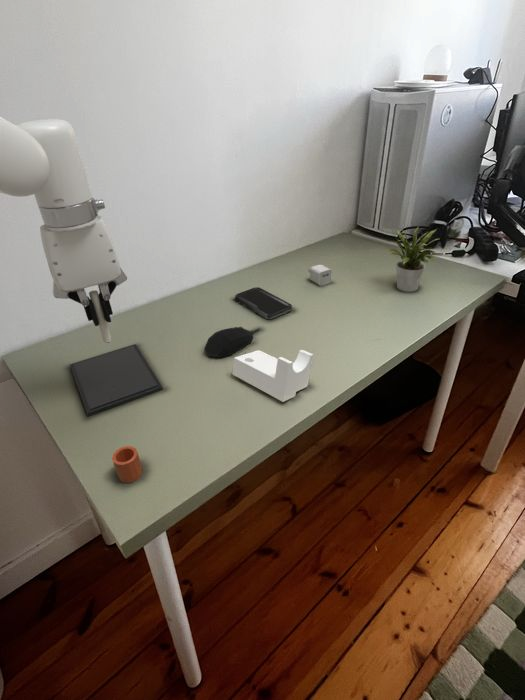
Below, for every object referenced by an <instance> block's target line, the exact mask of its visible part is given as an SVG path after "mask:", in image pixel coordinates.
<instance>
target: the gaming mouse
mask: <svg viewBox="0 0 525 700" xmlns="http://www.w3.org/2000/svg"><path fill="white" fill-rule="evenodd" d="M258 331H260V328H256V329H252V330H248V329H246V328H244V327H243V326H235V327H229V328H223V329H220V330H218V331H215V332H214V333H213V334H211V335H210V336H209V337H208V339H207V341H206V343H205V346H204V352H205V353H206V354H207V355H208V356H210V357H219V358H223V357H227V356H231V355H233V354H234V353H236V352H237V351H239V350H241V349H242V348H244V347H245V346H247V345H248V344H250V343H252V341H253V340H254V335H253V334H254V333H256V332H258Z"/></svg>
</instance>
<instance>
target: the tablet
mask: <svg viewBox="0 0 525 700" xmlns="http://www.w3.org/2000/svg"><path fill="white" fill-rule="evenodd" d="M69 366H70V370H71V372H72V374H73V378H74V381H75V383H76V387H77V389H78V392H79V394H80V398H81V400H82V401H81V402H82V403H83V406H84V409H85V413H86V415H87V417H91V416H94V415H96V414H99V413H102V412H105V411H108V410H110V409H113V408H115V407H118V406H121V405H123V404H127V403H129V402H133V401H135V400H138V399H140V398H143V397H146V396H149V395H153V394H154V393H158V392H160V391H163V388H164V387H163V386H162V384H161V382H160V381H159V379H158V377H157V376H156V374H155V372H154V371H153V369H152V368H151V366H150V365H149V363H148V361H147V359H146V358H145V356H144V355H143V353H142V351H141V350H140V348H139V347H138V345H137V344H136V343H134V344H131V345H128V346H124V347H121V348H117V349H115V350H112V351H108V352H105V353H101V354H99V355H95V356H93V357H89V358H86V359H83V360H79V361H76V362H74V363H70V364H69Z"/></svg>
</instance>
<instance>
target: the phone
mask: <svg viewBox="0 0 525 700" xmlns="http://www.w3.org/2000/svg"><path fill="white" fill-rule="evenodd" d="M234 299H235V301H236V302H238V303H239V304H241V305H243V306H245V308H248V309H249V310H250V311H253V312H254V313H256V314H257V315H259V316H261V317H262V318H264V319H266V320H274V319H276V318H278V317H281V316H282V315H285V314H288V313H290V312H292V310H293V305H292V304H291V303H289V302H287V301H286V300H283V299H282V298H280V297H278V296H276V295H275V294H272V293H270V292H269V291H267V290H265V289H263V288H261V287H259V286H256V287H251V288H250V289H247V290H244V291H241V292H239V293H236V294H235V295H234Z"/></svg>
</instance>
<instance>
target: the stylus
mask: <svg viewBox="0 0 525 700" xmlns="http://www.w3.org/2000/svg"><path fill="white" fill-rule="evenodd" d="M88 295H89V296H88V297H89V299H91V302H92V303H93V305H94V308H95V311H96V314H97V318H98V321H99V326H98V328H99V331H100V334H101V337H102V341H103V343H105V344H109V343H110V342H112V340H113V339H112V336H111V332H110V329H109V326H108V322H106V319H105V316H104V313H103V309H102V306H101V303H100V298H99V290H96V289H95V290H90V291H89V292H88Z"/></svg>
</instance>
